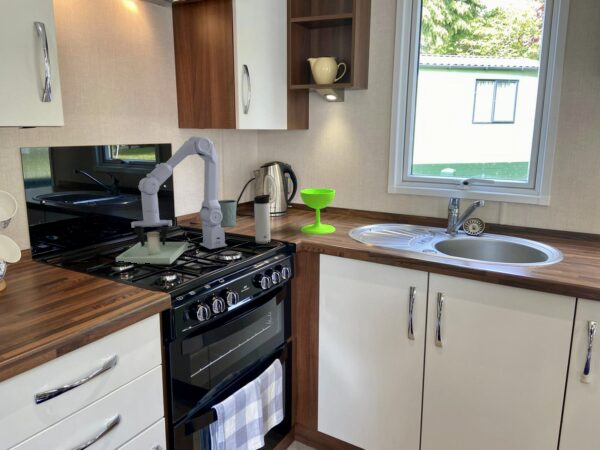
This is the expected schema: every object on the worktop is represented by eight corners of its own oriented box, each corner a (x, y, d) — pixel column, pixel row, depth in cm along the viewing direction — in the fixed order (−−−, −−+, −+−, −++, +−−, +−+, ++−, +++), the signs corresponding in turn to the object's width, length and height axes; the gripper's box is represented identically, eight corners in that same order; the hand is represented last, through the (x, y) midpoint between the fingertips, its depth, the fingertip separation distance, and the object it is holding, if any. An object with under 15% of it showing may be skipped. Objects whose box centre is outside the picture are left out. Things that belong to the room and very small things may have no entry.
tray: (140, 247, 194) (139, 242, 194) (188, 247, 193) (188, 242, 192) (116, 263, 173) (115, 257, 172) (170, 264, 171) (169, 258, 171)
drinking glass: (212, 226, 229) (210, 202, 226) (224, 222, 237) (223, 198, 235) (229, 228, 224) (228, 203, 221) (241, 224, 233) (240, 200, 230)
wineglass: (341, 232, 215) (341, 192, 211) (308, 235, 210) (308, 195, 206) (326, 224, 230) (326, 187, 226) (295, 227, 224) (294, 189, 220)
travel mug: (269, 244, 196) (267, 196, 192) (253, 243, 198) (251, 195, 193) (272, 240, 202) (271, 193, 198) (257, 239, 204) (256, 193, 199)
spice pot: (162, 254, 182) (161, 234, 180) (150, 256, 180) (149, 235, 178) (158, 250, 186) (157, 231, 184) (146, 252, 184) (145, 232, 181)
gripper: (171, 207, 184) (174, 241, 187) (132, 208, 182) (136, 243, 185) (169, 210, 177) (171, 246, 180) (128, 212, 175) (132, 248, 178)
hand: (153, 245), depth 182 cm, fingers open, 7 cm apart
